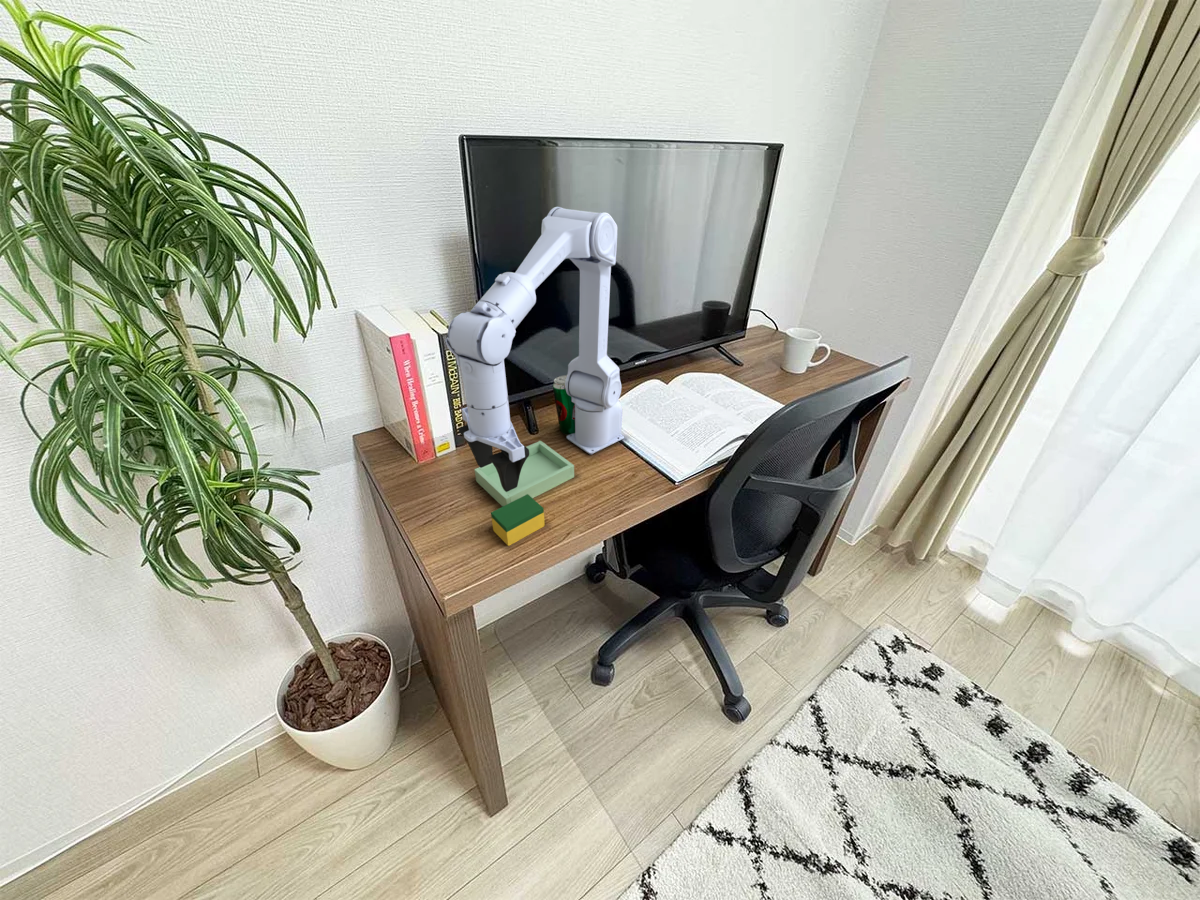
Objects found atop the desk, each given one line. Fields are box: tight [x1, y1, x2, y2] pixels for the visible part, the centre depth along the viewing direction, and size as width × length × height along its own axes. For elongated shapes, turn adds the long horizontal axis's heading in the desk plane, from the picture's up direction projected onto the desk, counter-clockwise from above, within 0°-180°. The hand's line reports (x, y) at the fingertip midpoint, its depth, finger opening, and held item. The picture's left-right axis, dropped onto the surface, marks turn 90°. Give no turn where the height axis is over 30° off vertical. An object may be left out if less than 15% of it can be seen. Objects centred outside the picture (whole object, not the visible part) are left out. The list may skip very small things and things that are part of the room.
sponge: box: [490, 494, 546, 547], centre depth 76 cm, size 7×4×4 cm, turn 131°
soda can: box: [552, 374, 575, 436], centre depth 99 cm, size 5×5×12 cm
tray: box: [474, 440, 575, 507], centre depth 87 cm, size 15×11×3 cm
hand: (497, 476), depth 74 cm, fingers open, 7 cm apart
